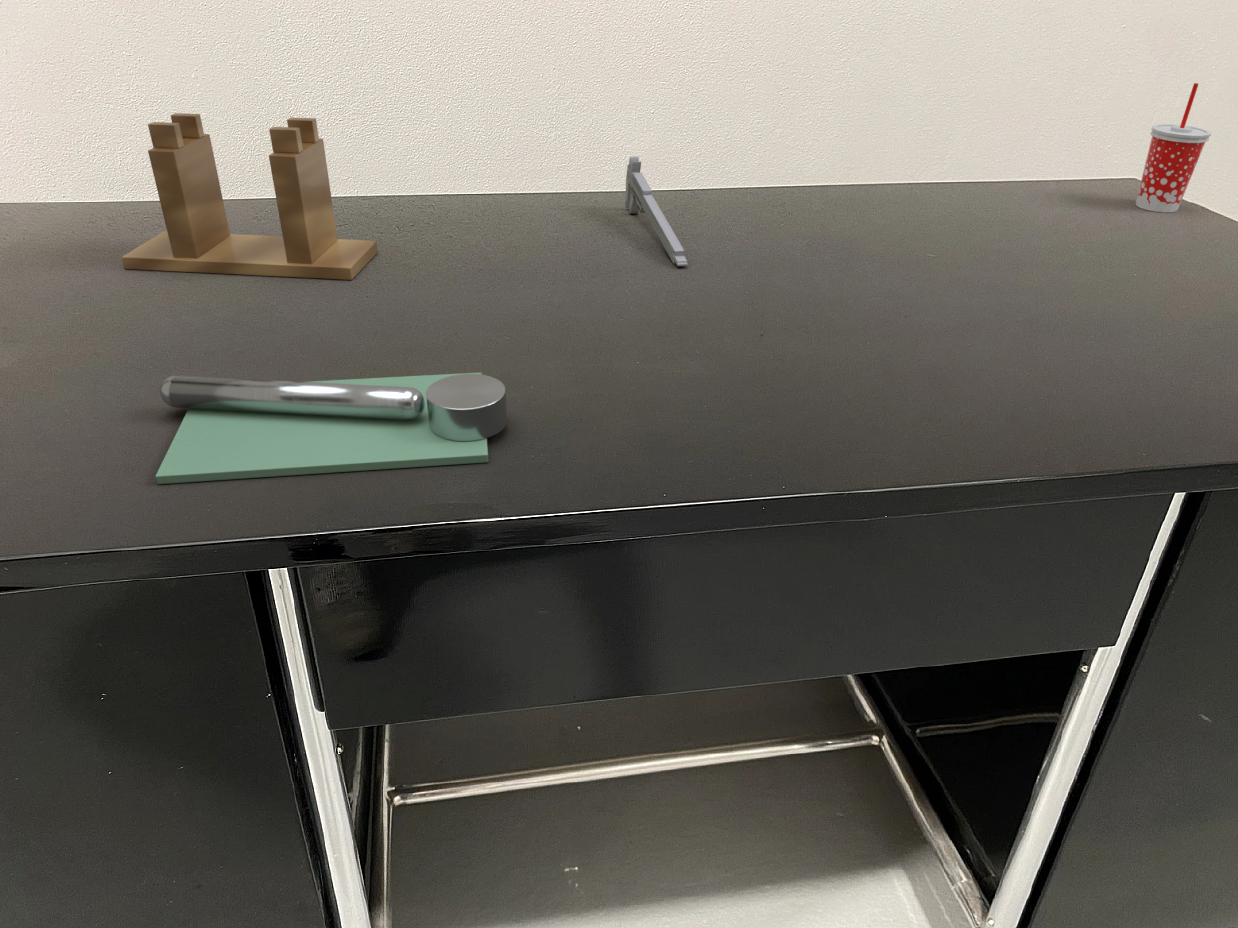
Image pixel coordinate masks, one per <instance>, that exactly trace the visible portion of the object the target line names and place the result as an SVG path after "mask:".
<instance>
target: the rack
mask: <svg viewBox="0 0 1238 928" xmlns="http://www.w3.org/2000/svg"><path fill="white" fill-rule="evenodd" d="M170 119H171V122H161V121H152V122H150V123H148V124H147V127H148V131H149V135H150V139H151V140H150V141H151V144H152V148H150V149H148V150H147V153H148V157H149V161H150V162H149V163H150V166H151V169H152V174H153V178H154V182H155V186H156V190H157V191H156V192H157V195H158V199H159V203H160V207H161V211H162V216H163V220H164V222H165V223H164V224H165V228H166V230H163V231H161V232H160V233H158V234H157V235H155V236H153V237H152V238H150V239H149V240H147V241H145V242H144V243H142V244H140V245H139V246H137V247H135V248H134V249H132V250H131V251H129V252H128V253H126V254H124V255H122V256H121V261H122V265H123V268H124V269H125V270H137V271H138V270H139V271H140V270H141V271H157V272H158V271H159V272H181V273H201V274H202V273H203V274H221V275H222V274H223V275H224V274H225V275H242V276H259V277H261V276H263V277H281V278H301V279H302V278H303V279H304V278H305V279H325V280H341V281H342V280H343V281H344V280H345V281H352V280H353V279H354V278H355V277H356V276H357V275H358V274H359V273H361V271H362V270H363V269H364V268H365V267H366V265H367V264H368V263H369V262H370V261H372V259H373V258H374V257H375V256H376V255H377V254H378V253H379V249H378V242H377V240H366V239H349V238H348V239H345V238H338V233H337V227H336V220H335V215H334V214H335V212H334V205H333V199H332V192H331V185H330V184H331V183H330V179H329V171H328V163H327V158H326V151H325V150H326V149H325V143H324V142H325V141H324V139H323V138H320V137H319V129H318V122H317V118H314V117H290V118H288V119H287V118H286V123H287V126H273V127H270V128H268V130H269V137H270V142H271V148H272V153H270V154H268V160H269V166H270V172H271V177H272V182H273V188H274V194H275V200H276V205H277V212H278V217H279V222H280V223H279V224H280V228H281V229H280V230H281V234H282V235H281V236H280V235H278V236H277V235H259V234H236V233H230V228H229V223H228V218H227V213H226V208H225V203H224V199H223V193H222V190H221V189H222V188H221V183H220V180H219V174H218V169H217V164H216V159H215V155H214V149H213V144H212V139H211V135H210V134H209V133H205V132H204V127H203V123H202V118H201V114H200V113H185V112H183V113H182V112H175V113H172V114H171V115H170Z"/></svg>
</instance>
